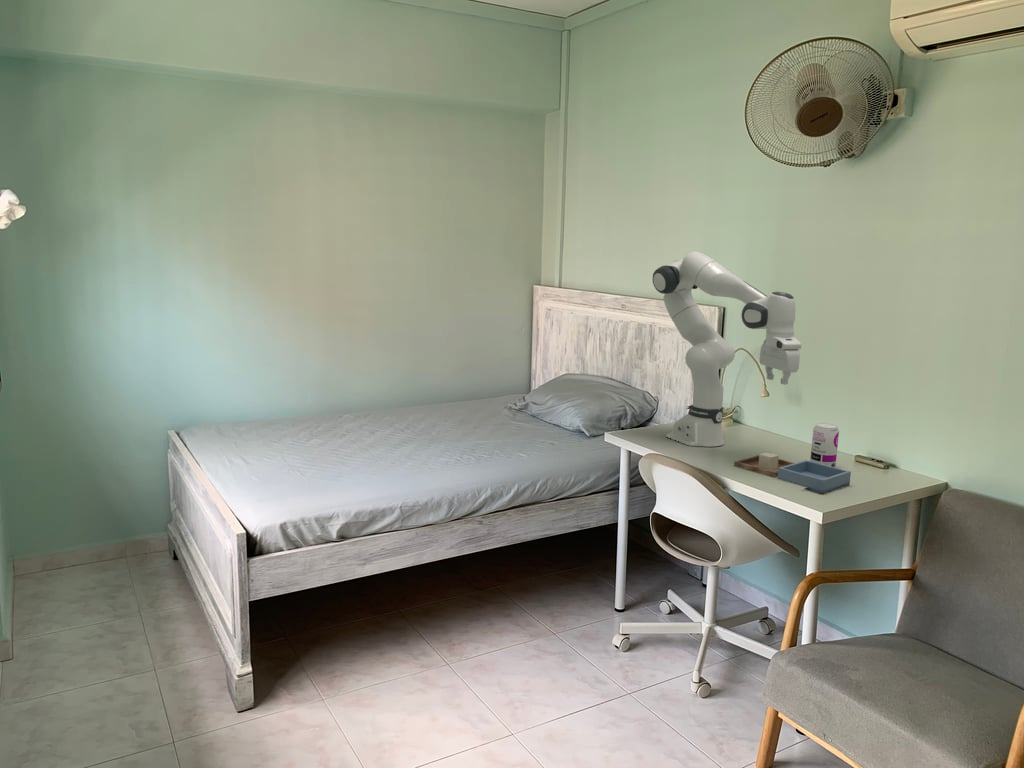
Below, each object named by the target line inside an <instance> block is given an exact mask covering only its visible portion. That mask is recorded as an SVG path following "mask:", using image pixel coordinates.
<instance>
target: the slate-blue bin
mask: <svg viewBox="0 0 1024 768" xmlns="http://www.w3.org/2000/svg"><path fill="white" fill-rule="evenodd" d="M793 463H794V464H791V465H787V466H784V467H780V468H778V477H776V478H777V479H778V480H781V481H785V482H789V483H793V484H794V485H798V486H803V487H805V488H803V489H804V490H806V491H810V492H812V491H813V493H817V494H820V495H824V493H825V494H827V492H828V493H831V492H834V491H836V489H837V490H840V489H842V488H841V487H843V488H845V486H846V487H848V486H850V484H851V476H852V475H851V474H852V471H849V470H846V469H842V468H838V467H831V466H827V465H823V464H819V463H815V462H812V461H810V460H807V459H804V460H801V461H798V462H793ZM847 485H848V486H847ZM839 488H840V489H839ZM833 490H834V491H833Z"/></svg>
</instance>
